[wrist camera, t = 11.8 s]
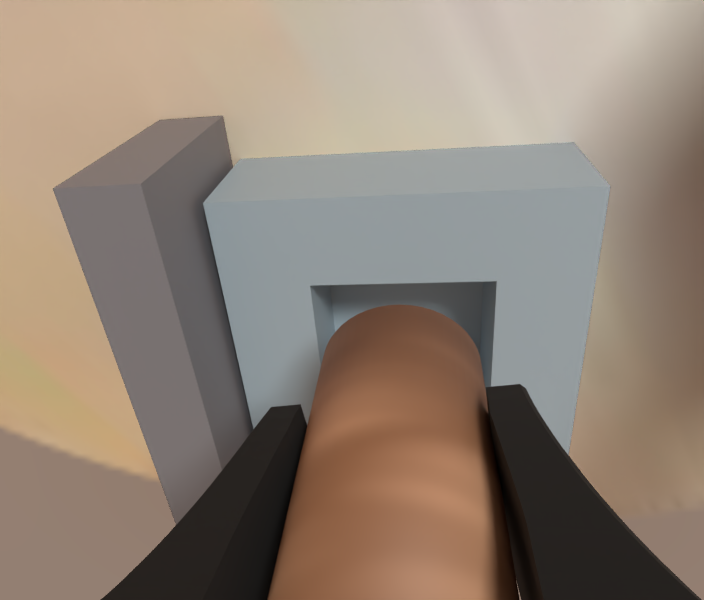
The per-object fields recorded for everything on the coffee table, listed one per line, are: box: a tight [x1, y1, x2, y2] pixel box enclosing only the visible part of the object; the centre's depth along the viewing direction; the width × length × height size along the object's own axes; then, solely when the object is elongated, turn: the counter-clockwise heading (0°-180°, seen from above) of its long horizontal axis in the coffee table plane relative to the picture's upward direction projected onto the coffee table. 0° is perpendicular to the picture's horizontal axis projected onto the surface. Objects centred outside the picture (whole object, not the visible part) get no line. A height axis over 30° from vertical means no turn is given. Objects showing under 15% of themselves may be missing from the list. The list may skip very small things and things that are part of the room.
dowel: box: [267, 305, 519, 600], centre depth 10 cm, size 4×4×7 cm
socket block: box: [203, 142, 610, 455], centre depth 18 cm, size 10×10×4 cm
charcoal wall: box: [53, 116, 253, 525], centre depth 18 cm, size 2×12×6 cm, turn 5°
